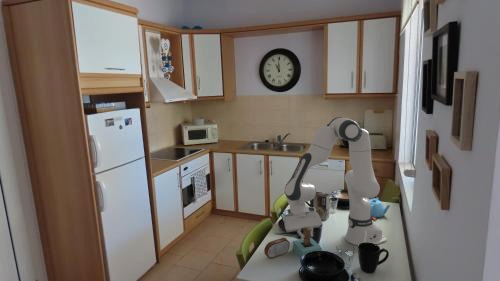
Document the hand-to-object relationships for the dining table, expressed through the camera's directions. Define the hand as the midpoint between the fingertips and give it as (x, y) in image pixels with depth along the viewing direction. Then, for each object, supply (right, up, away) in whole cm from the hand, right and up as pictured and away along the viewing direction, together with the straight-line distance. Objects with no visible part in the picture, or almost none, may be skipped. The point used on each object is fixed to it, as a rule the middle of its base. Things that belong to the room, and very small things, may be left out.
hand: (307, 237), depth 164 cm
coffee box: (+17, -1, +45) cm, 48 cm away
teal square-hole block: (0, -9, +2) cm, 9 cm away
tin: (-15, -10, +1) cm, 18 cm away
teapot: (+54, +1, +48) cm, 72 cm away
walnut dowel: (0, -5, +2) cm, 5 cm away
